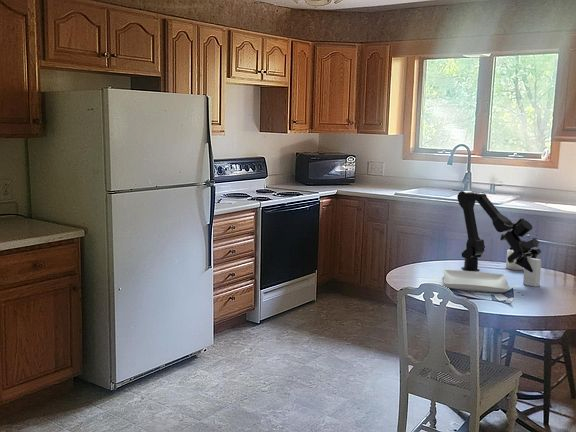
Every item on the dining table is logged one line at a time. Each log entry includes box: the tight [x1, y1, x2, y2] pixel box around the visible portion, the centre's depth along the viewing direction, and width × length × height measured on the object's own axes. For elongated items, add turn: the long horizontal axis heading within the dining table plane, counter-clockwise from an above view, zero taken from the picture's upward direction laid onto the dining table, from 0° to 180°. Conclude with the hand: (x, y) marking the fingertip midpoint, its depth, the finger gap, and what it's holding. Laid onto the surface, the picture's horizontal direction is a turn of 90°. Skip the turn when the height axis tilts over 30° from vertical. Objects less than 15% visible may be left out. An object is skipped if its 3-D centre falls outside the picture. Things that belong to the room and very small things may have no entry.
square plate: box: [442, 269, 510, 293], centre depth 264 cm, size 27×27×4 cm
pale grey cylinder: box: [505, 249, 524, 271], centre depth 300 cm, size 8×8×9 cm
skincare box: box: [522, 257, 542, 287], centre depth 267 cm, size 6×4×12 cm
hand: (535, 271), depth 266 cm, fingers closed on skincare box, 4 cm apart
